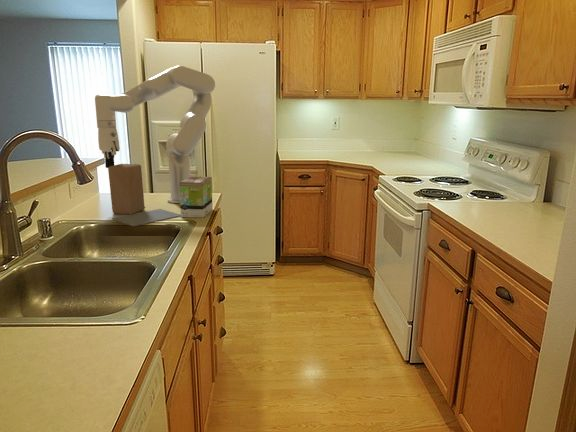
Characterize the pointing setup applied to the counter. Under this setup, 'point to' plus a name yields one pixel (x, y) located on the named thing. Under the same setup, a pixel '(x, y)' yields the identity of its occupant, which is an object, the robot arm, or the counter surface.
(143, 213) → the mat
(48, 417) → the counter surface
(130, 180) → the block
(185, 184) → the tea box
